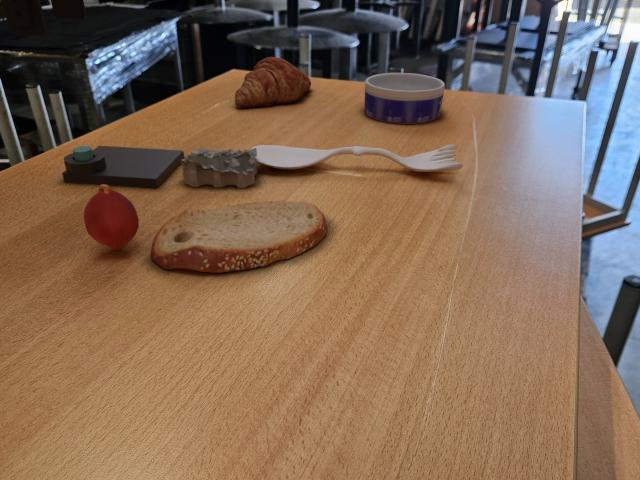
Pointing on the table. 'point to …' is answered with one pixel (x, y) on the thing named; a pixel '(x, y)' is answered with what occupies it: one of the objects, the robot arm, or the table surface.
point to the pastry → (272, 84)
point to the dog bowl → (403, 97)
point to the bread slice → (238, 236)
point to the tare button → (83, 153)
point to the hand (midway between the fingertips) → (51, 25)
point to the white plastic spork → (307, 157)
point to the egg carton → (220, 167)
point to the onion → (110, 218)
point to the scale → (123, 166)
